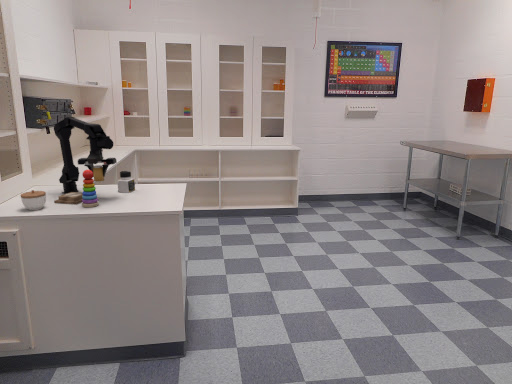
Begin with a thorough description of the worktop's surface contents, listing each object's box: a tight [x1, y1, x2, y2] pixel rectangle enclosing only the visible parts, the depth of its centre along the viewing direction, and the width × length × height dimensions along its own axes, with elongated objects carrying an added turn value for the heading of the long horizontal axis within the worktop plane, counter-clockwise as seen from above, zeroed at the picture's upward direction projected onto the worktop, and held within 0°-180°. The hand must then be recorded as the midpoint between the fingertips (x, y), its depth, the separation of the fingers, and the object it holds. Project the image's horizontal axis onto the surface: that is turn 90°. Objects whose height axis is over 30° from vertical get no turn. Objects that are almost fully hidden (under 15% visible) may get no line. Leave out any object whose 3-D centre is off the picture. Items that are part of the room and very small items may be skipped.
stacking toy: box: [81, 169, 100, 208], centre depth 189 cm, size 8×8×19 cm
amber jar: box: [93, 164, 105, 182], centre depth 203 cm, size 5×5×8 cm
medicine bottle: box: [116, 170, 136, 194], centre depth 220 cm, size 7×7×12 cm
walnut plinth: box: [53, 191, 83, 205], centre depth 201 cm, size 13×13×3 cm
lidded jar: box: [20, 189, 47, 211], centre depth 185 cm, size 11×11×9 cm
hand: (98, 176), depth 204 cm, fingers closed on amber jar, 5 cm apart
